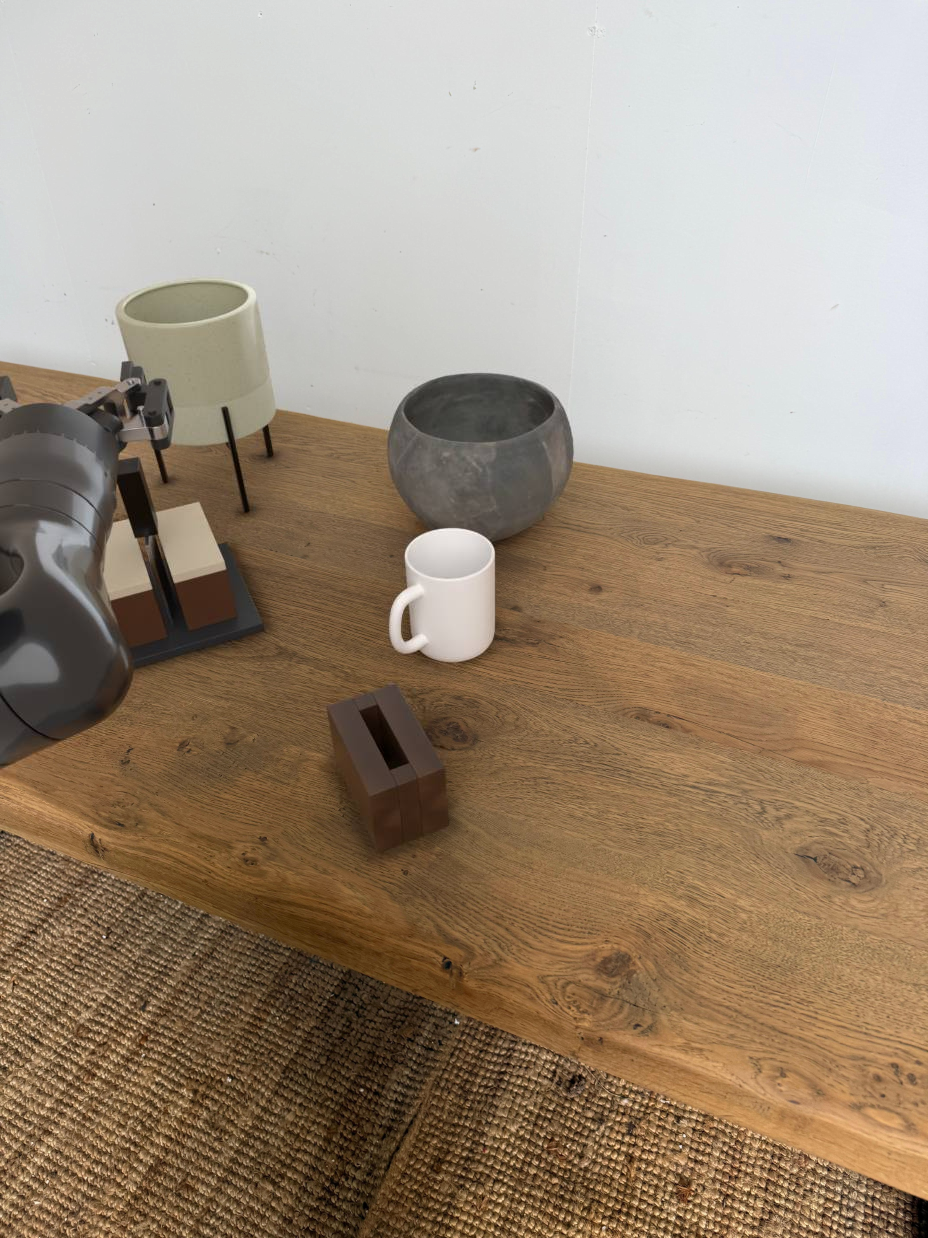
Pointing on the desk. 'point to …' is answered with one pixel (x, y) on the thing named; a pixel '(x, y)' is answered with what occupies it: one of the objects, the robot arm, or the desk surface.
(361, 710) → the knife block
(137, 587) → the cake
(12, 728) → the robot arm
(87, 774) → the desk surface
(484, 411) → the bowl
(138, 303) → the planter
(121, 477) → the knife
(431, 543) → the cup
